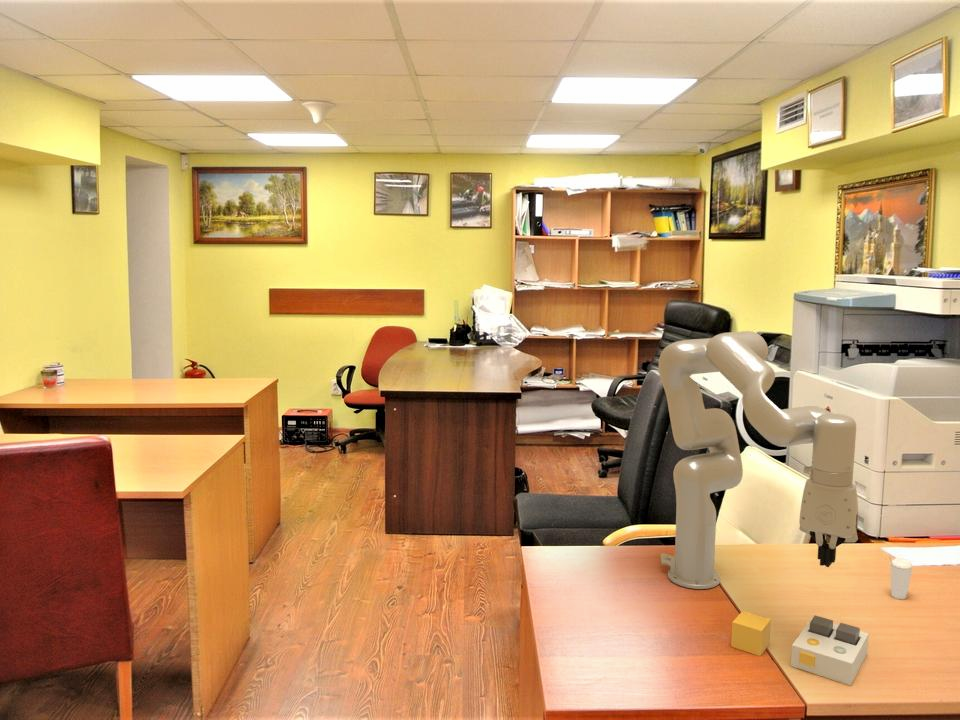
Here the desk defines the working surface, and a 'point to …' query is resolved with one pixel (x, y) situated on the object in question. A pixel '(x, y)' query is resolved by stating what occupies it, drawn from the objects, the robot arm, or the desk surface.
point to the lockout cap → (751, 633)
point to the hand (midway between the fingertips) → (826, 563)
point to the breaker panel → (829, 655)
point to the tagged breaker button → (821, 626)
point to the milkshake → (900, 577)
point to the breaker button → (847, 634)
